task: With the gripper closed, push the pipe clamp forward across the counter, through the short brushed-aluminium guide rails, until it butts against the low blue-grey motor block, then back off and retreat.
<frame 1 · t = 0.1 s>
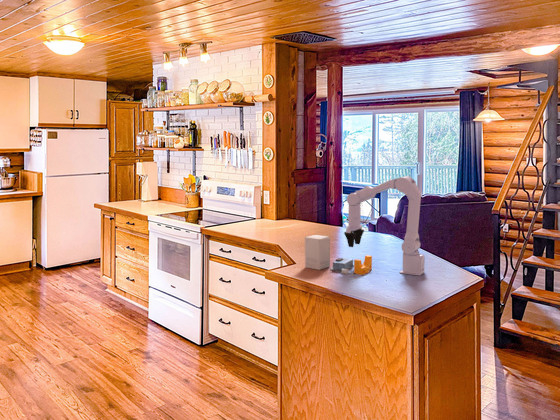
hand: (354, 245, 236), 10 cm above the countertop, fingers open, 7 cm apart
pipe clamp: (364, 272, 226), on the countertop
motor: (348, 269, 230), on the countertop
supplement box: (317, 267, 235), on the countertop
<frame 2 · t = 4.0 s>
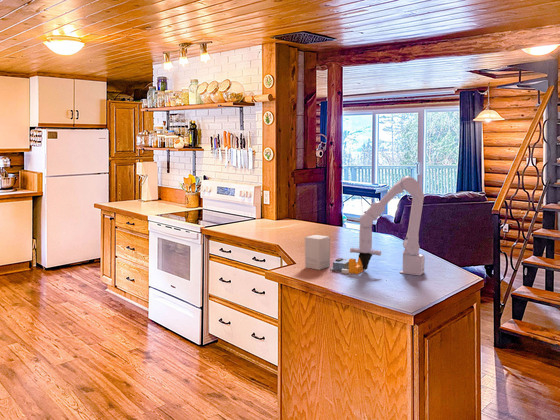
hand: (365, 269, 226), 1 cm above the countertop, fingers closed
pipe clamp: (358, 271, 228), on the countertop, touching gripper
everything else where it was.
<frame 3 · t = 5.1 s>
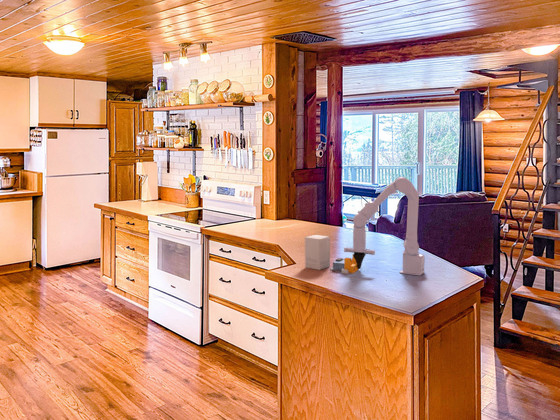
hand: (359, 268, 227), 1 cm above the countertop, fingers closed
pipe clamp: (353, 270, 229), on the countertop, touching gripper, motor
everything else where it was.
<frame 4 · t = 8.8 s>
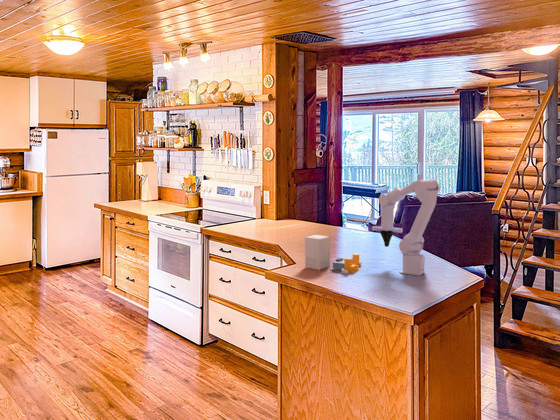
hand: (386, 246, 236), 9 cm above the countertop, fingers closed
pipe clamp: (353, 270, 229), on the countertop
everything else where it was.
at the end: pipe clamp 0.5 cm from the target spot on the motor, point 0.0 cm above the motor's base; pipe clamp moved 5.8 cm from its start; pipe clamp tilted 0° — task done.
